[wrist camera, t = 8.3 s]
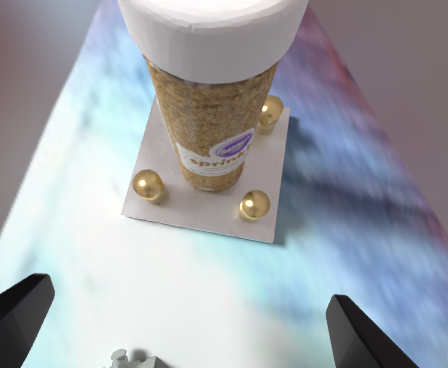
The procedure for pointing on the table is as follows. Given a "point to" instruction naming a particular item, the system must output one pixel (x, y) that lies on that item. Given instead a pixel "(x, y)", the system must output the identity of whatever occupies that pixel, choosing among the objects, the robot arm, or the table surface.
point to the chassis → (212, 200)
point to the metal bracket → (121, 361)
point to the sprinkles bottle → (212, 74)
